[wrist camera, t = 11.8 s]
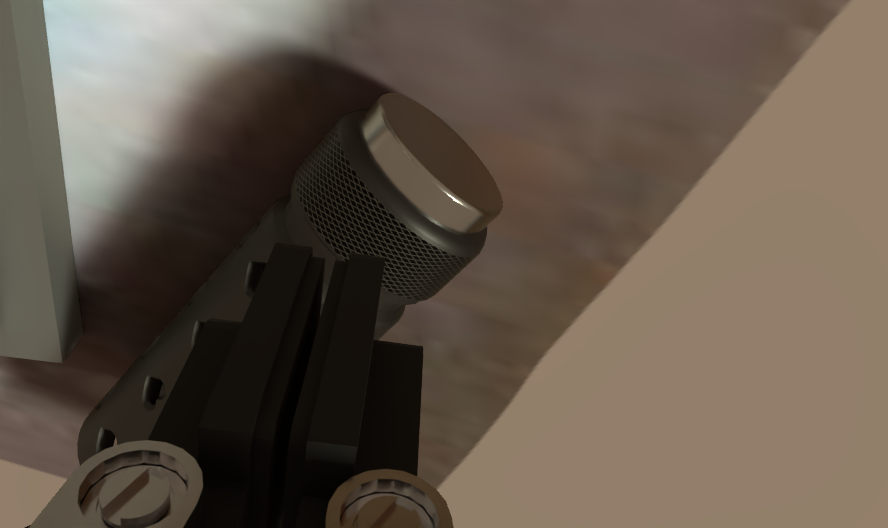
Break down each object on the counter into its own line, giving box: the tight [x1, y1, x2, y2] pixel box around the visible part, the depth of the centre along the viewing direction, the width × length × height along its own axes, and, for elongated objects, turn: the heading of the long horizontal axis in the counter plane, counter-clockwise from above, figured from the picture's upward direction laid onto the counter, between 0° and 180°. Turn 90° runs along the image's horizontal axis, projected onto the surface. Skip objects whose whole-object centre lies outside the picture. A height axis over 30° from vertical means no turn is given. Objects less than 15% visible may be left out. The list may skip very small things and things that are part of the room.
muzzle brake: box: [77, 93, 503, 466], centre depth 41 cm, size 10×28×10 cm, turn 138°
